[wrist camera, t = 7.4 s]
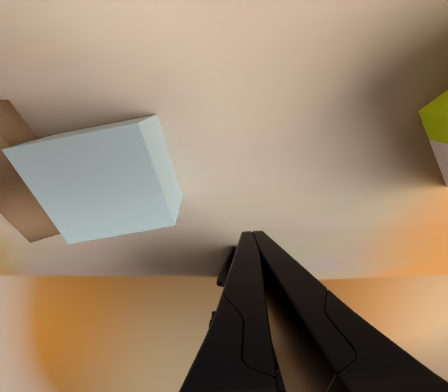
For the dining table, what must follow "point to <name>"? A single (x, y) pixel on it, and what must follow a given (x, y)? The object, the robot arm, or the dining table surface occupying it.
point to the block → (102, 179)
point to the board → (19, 181)
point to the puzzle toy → (437, 130)
